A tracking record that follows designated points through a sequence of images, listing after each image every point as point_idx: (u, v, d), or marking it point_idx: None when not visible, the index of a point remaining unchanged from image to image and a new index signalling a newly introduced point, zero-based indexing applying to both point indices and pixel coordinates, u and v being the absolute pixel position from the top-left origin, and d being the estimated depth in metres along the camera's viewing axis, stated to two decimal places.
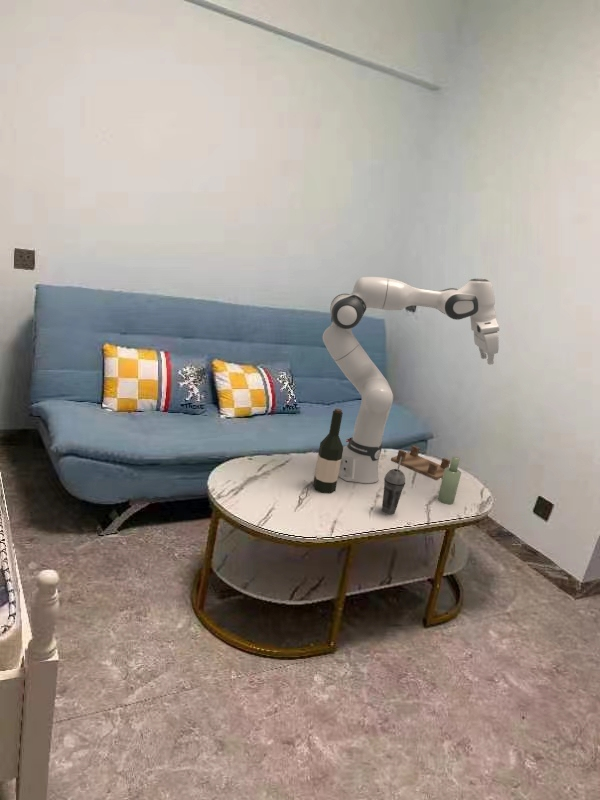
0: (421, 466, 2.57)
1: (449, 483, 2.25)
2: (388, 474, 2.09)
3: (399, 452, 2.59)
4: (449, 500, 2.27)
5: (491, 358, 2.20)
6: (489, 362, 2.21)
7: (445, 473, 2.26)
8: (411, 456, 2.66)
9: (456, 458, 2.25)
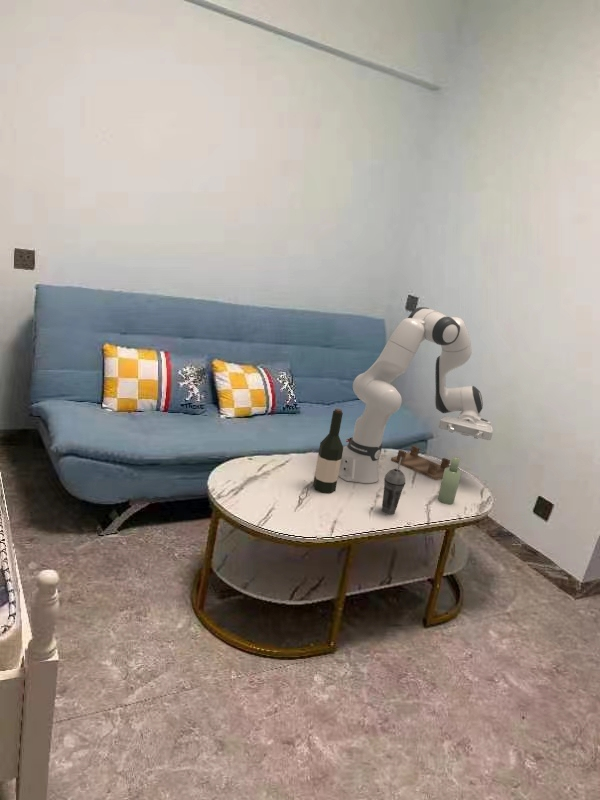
0: (421, 466, 2.57)
1: (449, 483, 2.25)
2: (388, 474, 2.09)
3: (399, 452, 2.59)
4: (449, 500, 2.27)
5: (479, 436, 2.35)
6: (478, 435, 2.34)
7: (445, 473, 2.26)
8: (411, 456, 2.66)
9: (456, 458, 2.25)
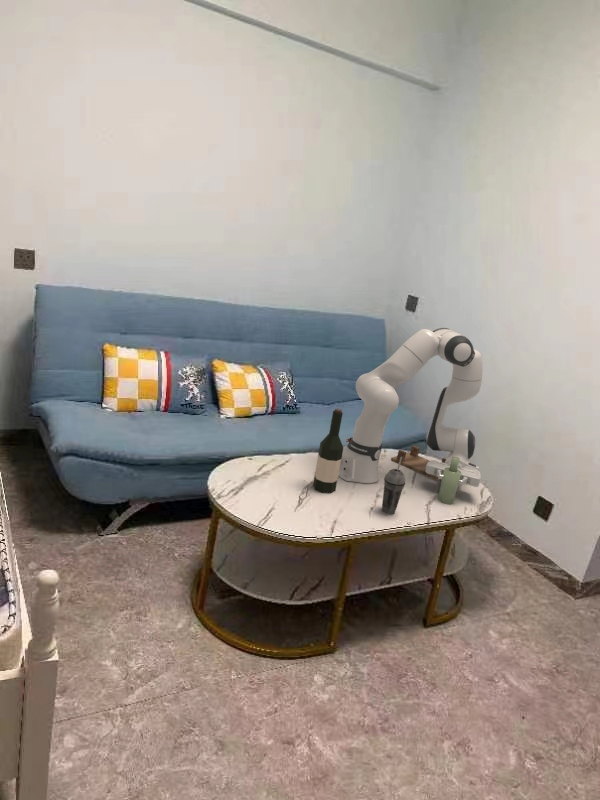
0: (421, 466, 2.57)
1: (448, 483, 2.25)
2: (388, 474, 2.09)
3: (399, 452, 2.59)
4: (449, 500, 2.27)
5: (464, 482, 2.28)
6: (463, 481, 2.26)
7: (445, 473, 2.26)
8: (411, 456, 2.66)
9: (456, 458, 2.25)
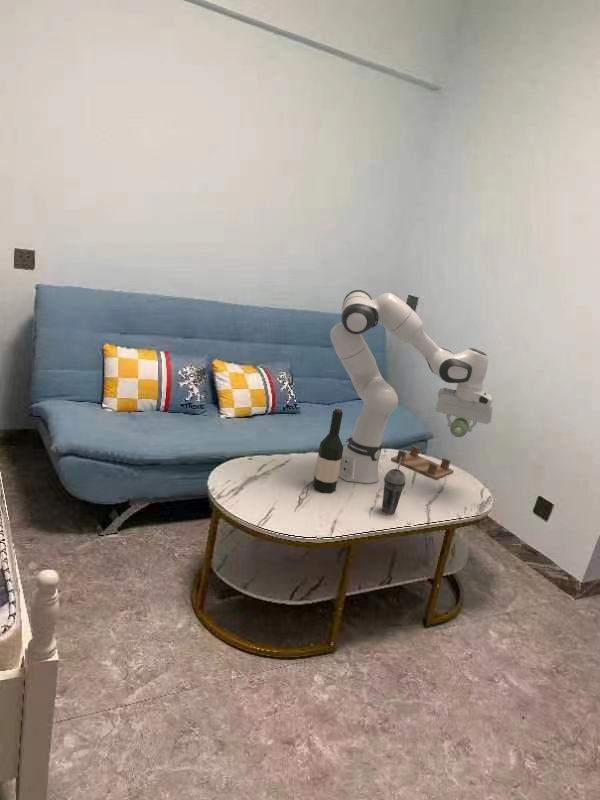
0: (421, 466, 2.57)
1: None
2: (388, 474, 2.09)
3: (399, 452, 2.59)
4: None
5: (473, 426, 2.28)
6: (471, 430, 2.28)
7: None
8: (411, 456, 2.66)
9: (457, 433, 2.22)
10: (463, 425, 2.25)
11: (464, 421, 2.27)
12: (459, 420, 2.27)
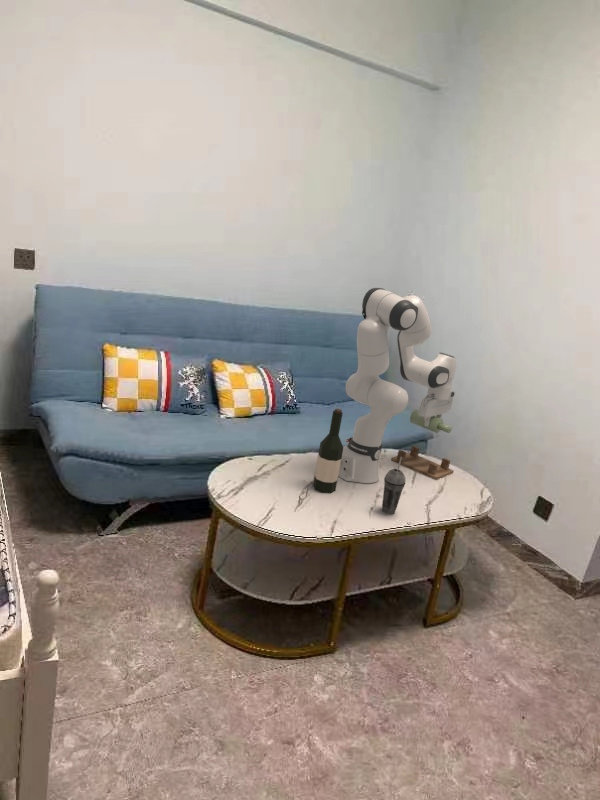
0: (421, 466, 2.57)
1: None
2: (388, 474, 2.09)
3: (399, 452, 2.59)
4: None
5: None
6: None
7: (433, 430, 2.52)
8: (411, 456, 2.66)
9: (450, 430, 2.49)
10: (441, 421, 2.53)
11: (436, 417, 2.54)
12: (437, 418, 2.52)
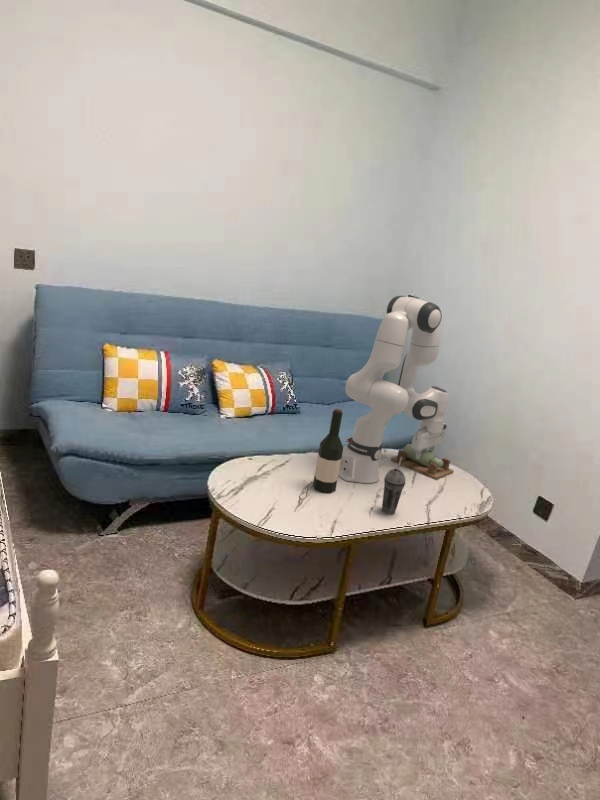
0: (421, 466, 2.57)
1: None
2: (388, 474, 2.09)
3: (399, 452, 2.59)
4: None
5: None
6: None
7: (425, 464, 2.56)
8: None
9: (441, 465, 2.54)
10: (433, 455, 2.57)
11: None
12: (429, 452, 2.56)
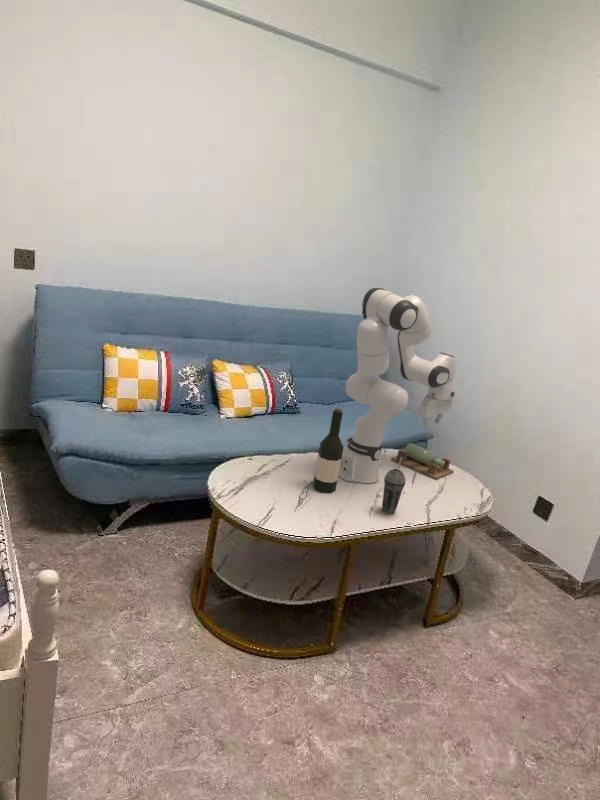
0: (421, 466, 2.57)
1: (421, 462, 2.59)
2: (388, 474, 2.09)
3: (399, 452, 2.59)
4: None
5: None
6: None
7: (426, 461, 2.56)
8: None
9: (443, 464, 2.55)
10: (435, 456, 2.59)
11: None
12: None
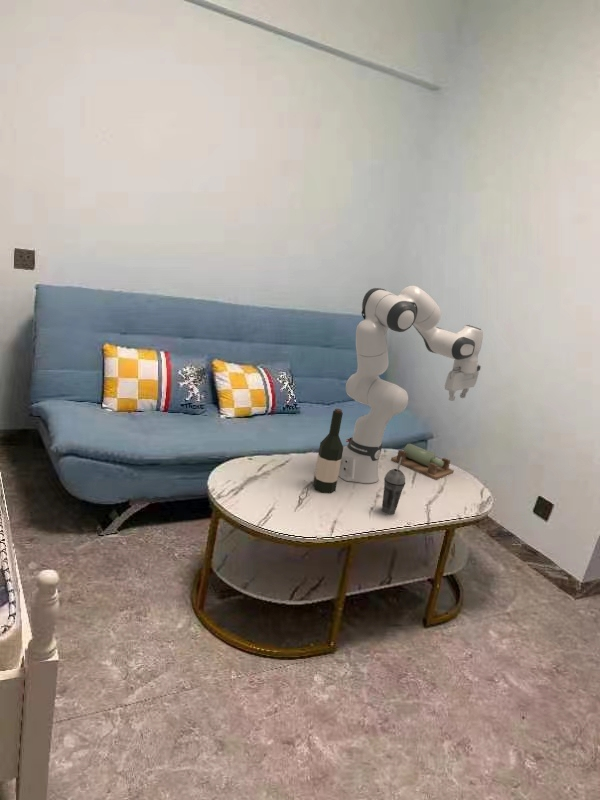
0: (421, 466, 2.57)
1: (421, 463, 2.59)
2: (388, 474, 2.09)
3: (399, 452, 2.59)
4: None
5: None
6: None
7: (425, 463, 2.56)
8: None
9: (442, 464, 2.54)
10: (434, 456, 2.58)
11: None
12: (430, 452, 2.57)
